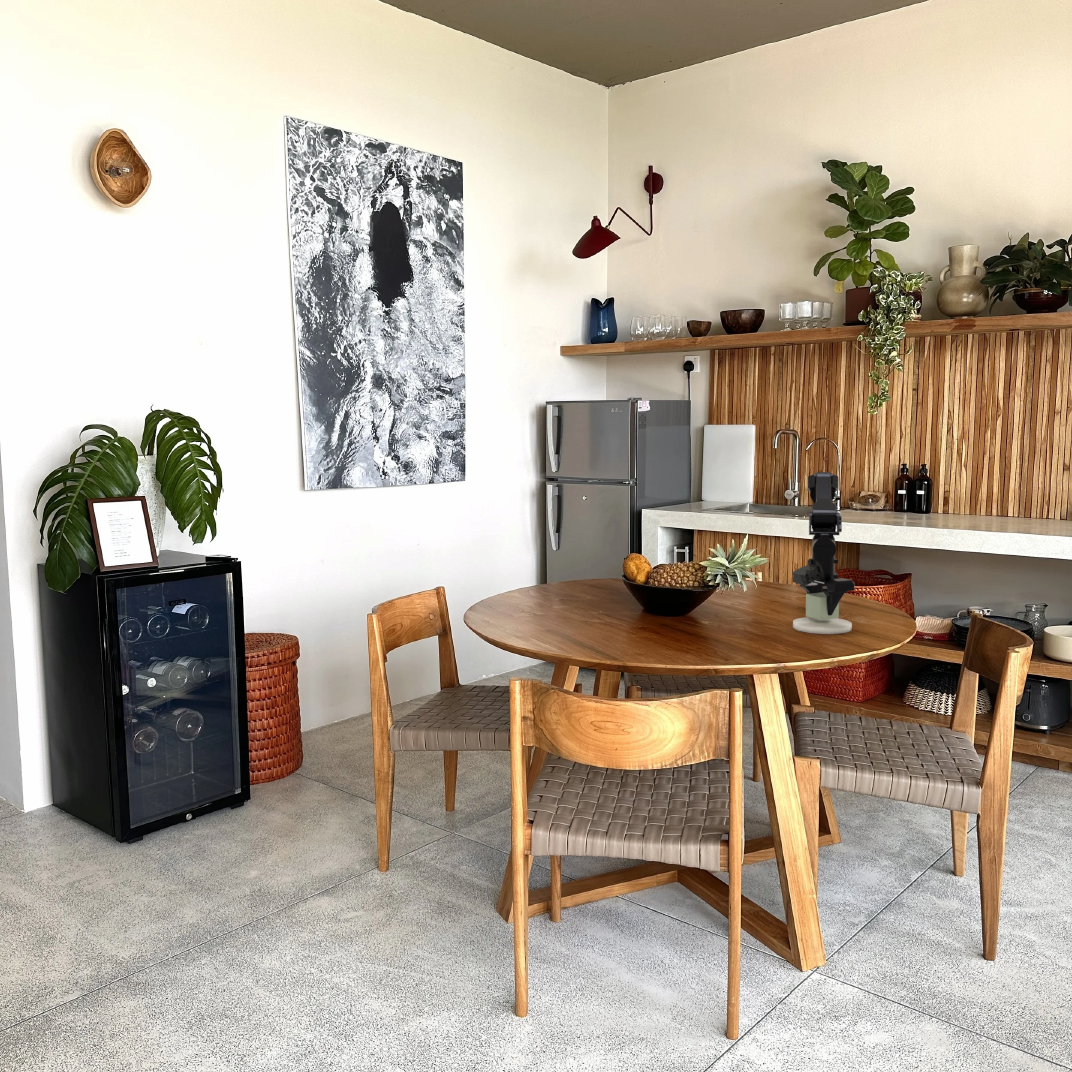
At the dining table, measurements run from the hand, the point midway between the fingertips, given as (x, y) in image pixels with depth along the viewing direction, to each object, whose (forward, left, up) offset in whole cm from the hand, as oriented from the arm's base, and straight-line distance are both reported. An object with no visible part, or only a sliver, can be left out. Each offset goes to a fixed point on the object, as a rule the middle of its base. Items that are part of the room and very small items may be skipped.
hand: (822, 613), depth 259 cm
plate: (0, 0, -4) cm, 4 cm away
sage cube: (0, 0, -1) cm, 1 cm away
